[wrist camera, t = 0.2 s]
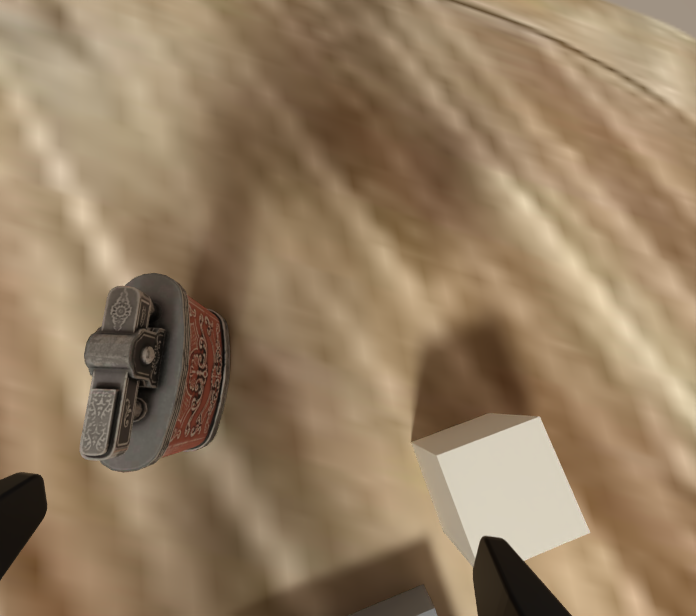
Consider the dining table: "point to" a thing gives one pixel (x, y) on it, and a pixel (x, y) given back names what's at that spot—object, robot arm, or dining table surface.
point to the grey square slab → (402, 605)
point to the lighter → (154, 375)
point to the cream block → (499, 485)
